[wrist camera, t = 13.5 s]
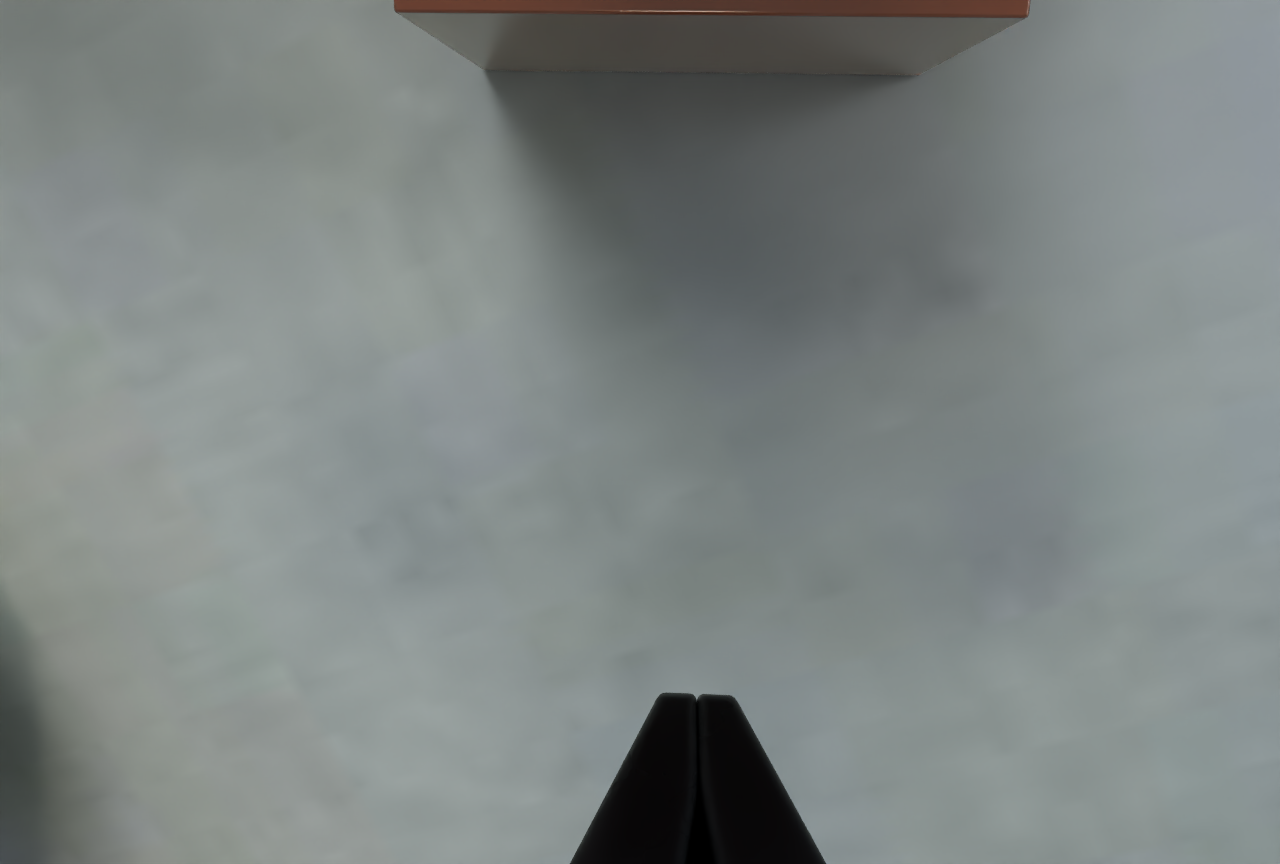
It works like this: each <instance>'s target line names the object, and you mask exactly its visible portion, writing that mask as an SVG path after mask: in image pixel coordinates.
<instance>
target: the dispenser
mask: <svg viewBox="0 0 1280 864" xmlns="http://www.w3.org/2000/svg"><path fill="white" fill-rule="evenodd" d="M1030 1H1031V0H394V10H395V12H396V13H398V14H399V15H401V16H402V17H404V18H405V19H407V20H408V21H410V22H411V23H413V24H415V25H416V26H418V27H419V28H421V29H422V30H424V31H425V32H427V33H428V34H430V35H431V36H433V37H434V38H436V39H437V40H439V41H440V42H442V43H443V44H445V45H446V46H448V47H449V48H451V49H452V50H454V51H455V52H457V53H458V54H460V55H462V56H463V57H465V58H466V59H468V60H469V61H471V62H472V63H474V64H475V65H477V66H478V67H480V68H481V69H483V70H491V71H580V72H668V73H757V74H845V75H920V74H922V73H924V72H926V71H928V70H929V69H931V68H933V67H935V66H937V65H939V64H941V63H943V62H945V61H946V60H948V59H950V58H952V57H954V56H956V55H958V54H960V53H961V52H963V51H965V50H967V49H969V48H971V47H973V46H975V45H976V44H978V43H980V42H982V41H984V40H986V39H988V38H990V37H991V36H993V35H995V34H997V33H999V32H1001V31H1003V30H1005V29H1006V28H1008V27H1010V26H1012V25H1014V24H1016V23H1018V22H1020V21H1022V20H1023V19H1025V18H1027V17H1028V15H1029V9H1030Z"/></svg>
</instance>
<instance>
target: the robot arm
mask: <svg viewBox="0 0 1280 864" xmlns="http://www.w3.org/2000/svg"><path fill="white" fill-rule="evenodd" d="M570 864H826V863H825V861H824V859H823V857H822V855H821V853H820V852H819V850H818V848H817V846H816V844H815V842H814V841H813V839H812V837H811V835H810V833H809V831H808V830H807V828H806V826H805V824H804V822H803V821H802V819H801V817H800V815H799V813H798V811H797V810H796V808H795V806H794V804H793V802H792V800H791V799H790V797H789V795H788V793H787V791H786V789H785V788H784V786H783V784H782V782H781V780H780V778H779V777H778V775H777V773H776V771H775V769H774V768H773V766H772V764H771V762H770V760H769V758H768V757H767V755H766V753H765V751H764V749H763V747H762V746H761V744H760V742H759V740H758V738H757V736H756V735H755V733H754V731H753V729H752V727H751V725H750V724H749V722H748V720H747V718H746V716H745V715H744V713H743V711H742V709H741V707H740V705H739V704H738V702H737V701H736V699H735V698H734V697H732V696H730V695H712V694H702V695H700V696H699V697H698V699H697V700H696V697H695V696H694V695H693V694H687V693H662V694H660V695H659V696H658V698H657V699H656V701H655V703H654V705H653V707H652V709H651V711H650V712H649V714H648V716H647V718H646V720H645V722H644V724H643V726H642V728H641V730H640V731H639V733H638V735H637V737H636V739H635V741H634V743H633V745H632V747H631V749H630V751H629V752H628V754H627V756H626V758H625V760H624V762H623V764H622V766H621V768H620V770H619V771H618V773H617V775H616V777H615V779H614V781H613V783H612V785H611V787H610V789H609V790H608V792H607V794H606V796H605V798H604V800H603V802H602V804H601V806H600V808H599V809H598V811H597V813H596V815H595V817H594V819H593V821H592V823H591V825H590V827H589V828H588V830H587V832H586V834H585V836H584V838H583V840H582V842H581V844H580V846H579V847H578V849H577V851H576V853H575V855H574V857H573V859H572V861H571V863H570Z"/></svg>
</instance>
